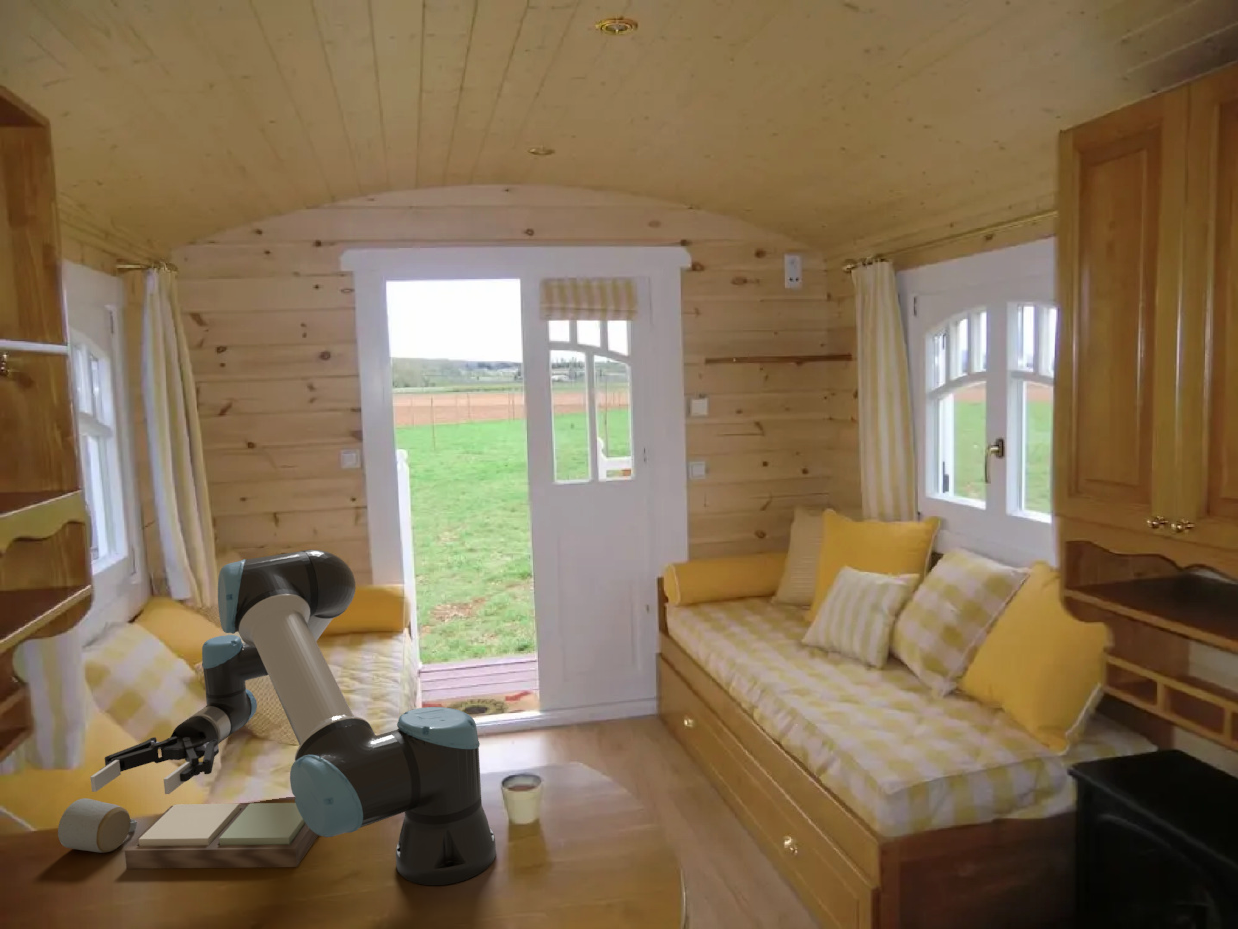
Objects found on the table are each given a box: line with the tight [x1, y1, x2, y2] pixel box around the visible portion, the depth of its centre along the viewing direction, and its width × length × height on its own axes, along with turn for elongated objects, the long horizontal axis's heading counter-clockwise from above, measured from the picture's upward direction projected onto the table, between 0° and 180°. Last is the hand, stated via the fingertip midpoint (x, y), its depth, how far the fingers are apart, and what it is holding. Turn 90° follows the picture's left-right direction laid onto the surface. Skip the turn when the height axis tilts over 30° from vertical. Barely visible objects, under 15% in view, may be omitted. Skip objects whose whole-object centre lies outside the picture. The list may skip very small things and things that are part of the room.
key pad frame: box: [124, 804, 319, 870], centre depth 151 cm, size 27×14×3 cm, turn 87°
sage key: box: [219, 802, 306, 845], centre depth 151 cm, size 11×11×3 cm
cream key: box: [139, 803, 241, 846], centre depth 151 cm, size 11×11×3 cm
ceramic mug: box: [57, 797, 138, 854], centre depth 153 cm, size 11×8×8 cm
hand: (129, 785), depth 160 cm, fingers open, 13 cm apart
